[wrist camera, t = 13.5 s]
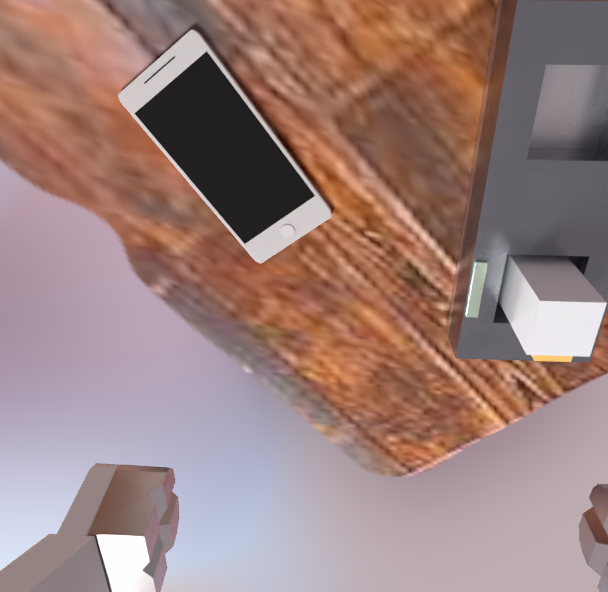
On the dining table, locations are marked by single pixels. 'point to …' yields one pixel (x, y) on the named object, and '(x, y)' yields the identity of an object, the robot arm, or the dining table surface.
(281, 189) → the smartphone
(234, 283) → the dining table surface
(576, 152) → the panel
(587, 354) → the plug
